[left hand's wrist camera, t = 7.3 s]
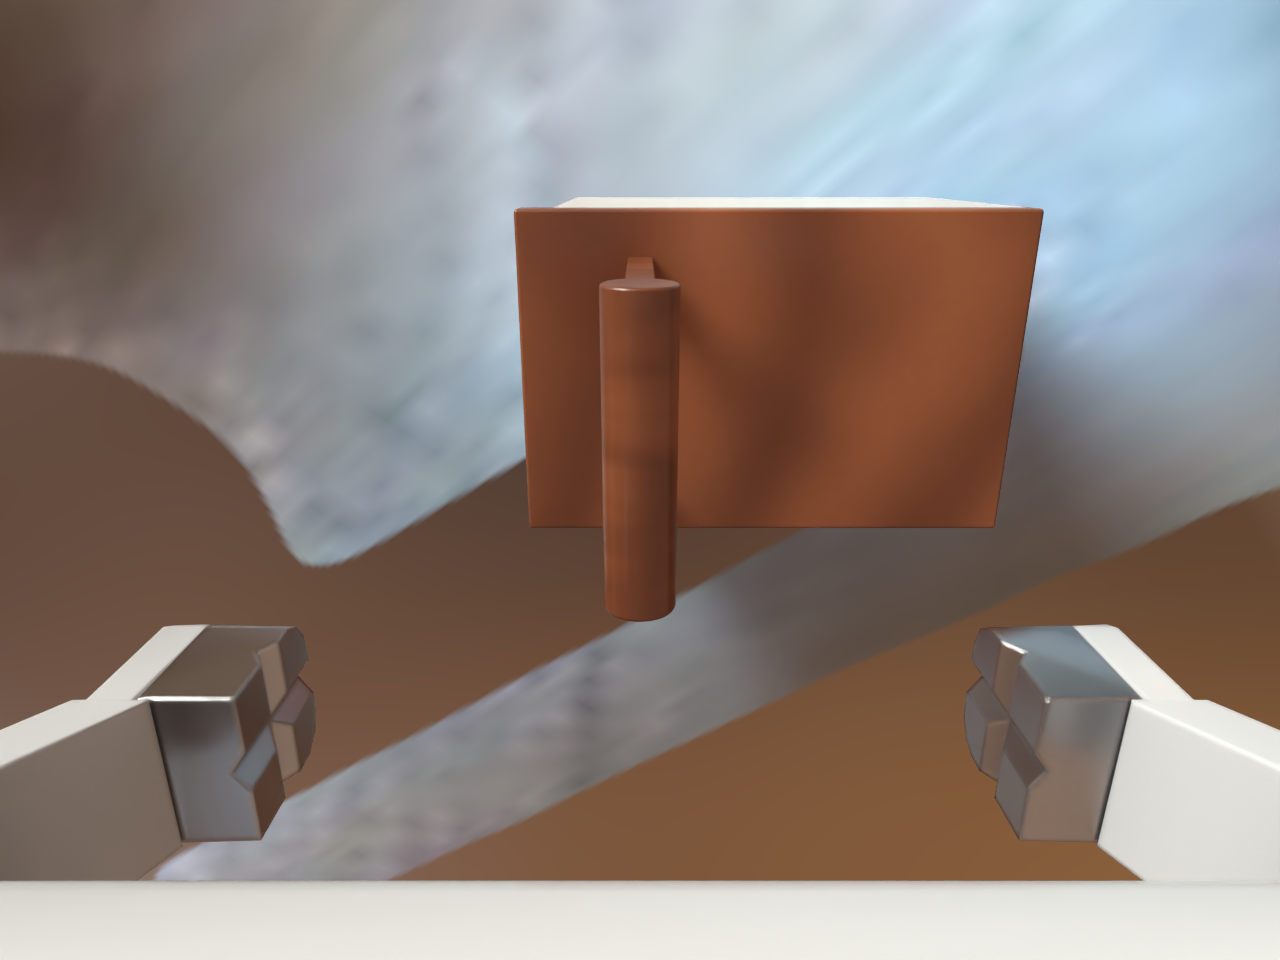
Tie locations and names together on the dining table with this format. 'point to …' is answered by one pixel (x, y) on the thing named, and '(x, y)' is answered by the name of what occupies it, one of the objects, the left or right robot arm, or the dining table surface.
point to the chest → (769, 202)
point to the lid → (765, 372)
